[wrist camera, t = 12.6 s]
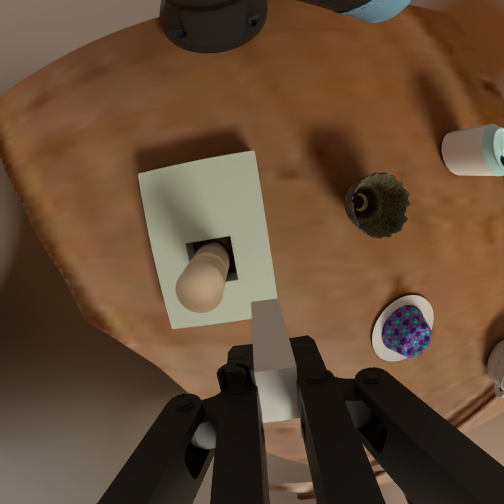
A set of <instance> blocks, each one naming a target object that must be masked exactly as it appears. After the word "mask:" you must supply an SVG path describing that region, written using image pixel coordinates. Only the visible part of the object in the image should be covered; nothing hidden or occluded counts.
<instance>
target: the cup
mask: <svg viewBox="0 0 504 504" xmlns="http://www.w3.org/2000/svg"><path fill="white" fill-rule="evenodd" d="M395 180H396V178H395V176H393V175H389V174H388V173H379V172H376V173H373V174H371V175H368V176H365V177H363V178H361V179H359V180H357V181H355V182H354V183H353V184H352V185H351V186H350V187H349V189H348V190H347V192H346V195H345V201H344V205H345V211H346V213H347V215H348V217H349V219H350V220H351V221H352V223H353V224H354V225H356V226H357V227H358V228H359V229H361V230H362V231H363V232H364V233H366V234H368V235H369V236H371V237H373V238H375V237H376V238H379V239H381V238H383V236H384V237H391V234H393V233H397V232H399V231H401V230H402V228H403V224H404V223H406V222H407V220H408V219H407V217H406V216H405V212H406V207H407V206H409V205H410V203H409V201H407V200H408V198H409V193H408V192H407V191H406V190H405V189H404V188H402V185H403V183H402V182H400V181H395ZM356 196H360V197H362V198H363V201H364V203H363V206H362V207H360V208H356V207H355V206H354V199H355V197H356Z"/></svg>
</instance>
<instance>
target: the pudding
mask: <svg viewBox="0 0 504 504" xmlns="http://www.w3.org/2000/svg"><path fill="white" fill-rule="evenodd" d="M405 305H414V306H413V307H411V308H408V307H407V306H405ZM402 306H403V307H402ZM415 306H416V307H415ZM400 307H401V308H400ZM417 307H418V308H419V309H420V310H421V311H422V313H423V315H422V314H421V312H420V310H419V309H418V308H417ZM398 308H399V310H398V311H397V313H393V312H394V311H395V310H397V309H398ZM392 313H393V314H392ZM423 316H424V317H423ZM387 318H388V319H387ZM386 320H387V325H386V326H385V327H384V328H383V326H384V323H385V321H386ZM433 320H434V316H433V310H432V307H431V305H430V303H429V302H428V301H427V300H426V299H425V298H423V297H421V296H417V295H409V296H404V297H402V298H400V299H398V300H396V301H394V302H393V303H392V304H390V305H389V306H388V307H387V308H386V309H385V310H384V311H383V312H382V314H381V315H380V317H379V318H378V320H377V322H376V324H375V327H374V330H373V335H372V344H373V348H374V351H375V352H376V354H377V355H378V356H379V357H380V358H382V359H384V360H387V361H399V360H403V359H405V358H407V357H408V358H412V357H415V356H416V355H420V354H422V353H423V352H424V350H425V348H426V347H428V345H429V344H430V338H431V336H432V331H431V330H432V326H433ZM382 328H383V330H382ZM381 334H382V337H383V338H385V339H384V344H383V342H382V337H381ZM385 346H386V347H387V348H386V347H385ZM388 348H389V349H388ZM390 349H391V350H390Z"/></svg>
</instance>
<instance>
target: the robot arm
mask: <svg viewBox="0 0 504 504" xmlns="http://www.w3.org/2000/svg"><path fill="white" fill-rule="evenodd" d="M297 1H301V2H305V3H309V4H312V5H316V6H319V7H322V8H326V9H329V10H332V11H334V12H335V13H337V14H340V15H349V16H352V17H355V18H358V19H361V20H364V21H367V22H373V23H376V22H381V21H386V20H388V19H390V18H392V17H394V16H395V15H397V14H398V13H400V12H401V11H402V10H403V9H404V8H405V7H406V6H407V5H408V4H409V3H410V1H411V0H297ZM266 16H267V0H161V6H160V22H161V26H162V28H163V30H164V32H165V34H166V35H167V37H168V38H169V39H170V40H171V41H172V42H173V43H174V44H176V45H177V46H179V47H181V48H183V49H185V50H188V51H192V52H198V53H218V52H223V51H228V50H231V49H234V48H237V47H239V46H241V45H243V44H245V43H247V42H248V41H250V40H251V39H252V38H254V37H255V36H256V35H257V34H258V33H259V32H260V30H261V29H262V27H263V26H264V23H265V21H266ZM251 314H252V337H253V344H248V345H239V346H233V347H232V348H231V349H230V351H229V352H228V360H227V364H225V365H223V366H222V367H221V368H219V369H218V371H217V377H218V381H219V385H220V389H221V392H220V393H219V394H217V395H216V396H213V397H211V398H208V399H204V400H201V399H200V398H199V397H198V396H197V395H194V394H181V395H177V396H175V397H173V398H172V399H171V400H170V401H169V402H168V403H167V404H166V406H165V407H164V409H163V410H162V412H161V413H160V414H159V416H158V418H157V419H156V421H155V422H154V423H153V425H152V426H151V428H150V429H149V430H148V432H147V433H146V435H145V436H144V438H143V439H142V441H141V442H140V444H139V445H138V446H137V448H136V449H135V451H134V452H133V454H132V455H131V456H130V458H129V459H128V461H127V462H126V464H125V465H124V466H123V468H122V469H121V471H120V472H119V473H118V475H117V476H116V478H115V479H114V481H113V482H112V483H111V485H110V486H109V488H108V489H107V490H106V492H105V493H104V495H103V496H102V497H101V499H100V500H99V502H98V503H97V504H192V503H193V501H194V499H195V497H196V494H197V491H198V490H199V488H200V485H201V483H202V481H203V479H204V476H205V474H206V472H207V470H208V467H209V465H210V463H211V460H212V458H213V456H214V465H213V476H212V488H211V500H210V504H270V499H269V486H268V474H267V461H266V449H265V436H264V428H263V423H266V422H275V421H282V420H289V419H296V418H301V438H303V439H304V444H305V449H306V454H307V458H308V463H309V468H310V473H311V477H312V483H313V488H314V493H315V498H316V503H317V504H385V501H384V498H383V496H382V493H381V491H380V488H379V485H378V483H377V480H376V478H375V475H374V473H373V470H372V467H371V465H370V462H369V460H368V457H367V455H366V452H365V450H364V447H363V445H364V446H365V447H366V448H367V450H368V451H369V452H370V453H371V455H372V456H373V457H374V458H375V459H376V460H377V462H378V463H379V464H380V465H381V466H382V468H383V469H384V470H385V471H386V472H387V474H388V475H389V476H390V477H391V478H392V479H393V481H394V482H395V483H396V484H397V485H398V486H399V487H400V489H401V490H402V491H403V492H404V493H405V494H406V496H407V497H408V498H409V499H410V500H411V501H412V502H413V504H504V466H502V465H501V464H500V463H499V462H497V461H496V460H495V459H494V458H492V457H491V456H490V455H489V454H487V453H486V452H485V451H484V450H482V449H481V448H480V447H479V446H477V445H476V444H475V443H474V442H472V441H471V440H470V439H469V438H468V437H466V436H465V435H464V434H463V433H461V432H460V431H459V430H458V429H456V428H455V427H454V426H453V425H452V424H450V423H449V422H448V421H447V420H445V419H444V418H443V417H442V416H440V415H439V414H438V413H437V412H436V411H434V410H433V409H432V408H431V407H429V406H428V405H427V404H426V403H425V402H423V401H422V400H421V399H420V398H418V397H417V396H416V395H415V394H413V393H412V392H411V391H410V390H409V389H407V388H406V387H405V386H404V385H403V384H401V383H400V382H399V381H398V380H396V379H395V378H394V377H393V376H392V375H390V374H389V373H388V372H387V371H385V370H383V369H380V368H376V367H374V368H366V369H363V370H361V371H359V372H358V373H357V374H356V376H355V379H344V378H338V377H335V376H334V375H333V374H332V373H331V371H329V370H327V369H326V367H325V365H324V362H323V360H322V357H321V355H320V353H319V350H318V348H317V345H316V343H315V341H314V339H312V338H311V337H309V336H308V335H307V336H301V337H294V338H289V337H288V333H287V329H286V326H285V322H284V318H283V315H282V311H281V307H280V304H279V300H278V298H277V299H269V300H262V301H254V302H251ZM299 414H300V415H299ZM362 444H363V445H362Z"/></svg>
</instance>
